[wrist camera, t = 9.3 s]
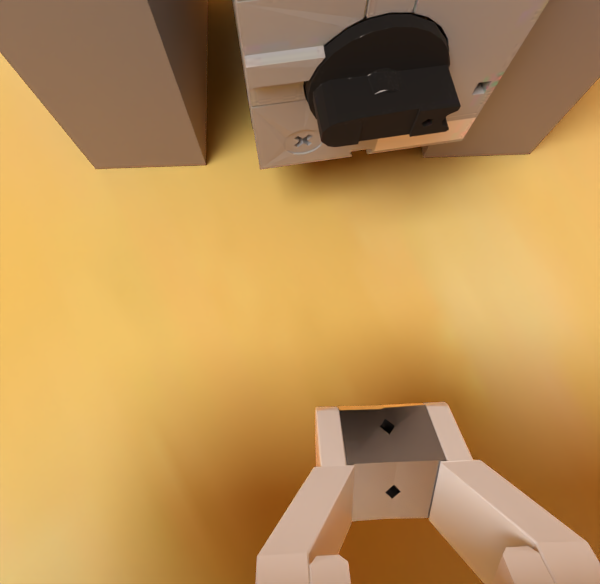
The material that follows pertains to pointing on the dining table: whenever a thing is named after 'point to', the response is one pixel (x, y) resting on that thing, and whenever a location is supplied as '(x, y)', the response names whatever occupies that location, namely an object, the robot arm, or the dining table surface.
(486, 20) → the circuit breaker
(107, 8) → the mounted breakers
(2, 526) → the dining table surface
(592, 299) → the dining table surface
